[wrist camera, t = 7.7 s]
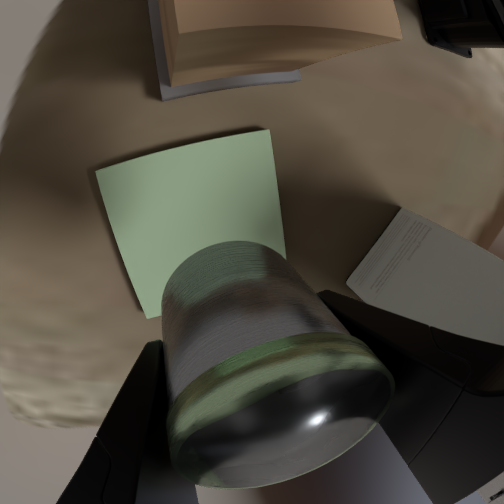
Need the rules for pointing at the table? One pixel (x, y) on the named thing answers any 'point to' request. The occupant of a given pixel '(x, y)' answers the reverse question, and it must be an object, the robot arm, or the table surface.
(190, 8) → the tan box
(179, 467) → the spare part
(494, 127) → the table surface
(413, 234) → the supplement box
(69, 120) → the table surface
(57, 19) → the table surface
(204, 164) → the sage mat
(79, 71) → the table surface
